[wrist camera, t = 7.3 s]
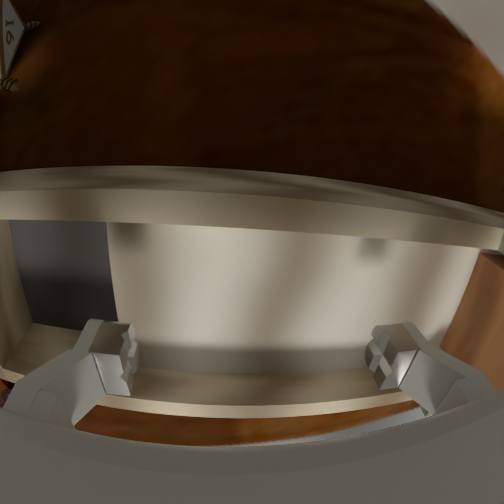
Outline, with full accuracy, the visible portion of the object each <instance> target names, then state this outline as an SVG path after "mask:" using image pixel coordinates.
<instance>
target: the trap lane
mask: <svg viewBox="0 0 504 504" xmlns="http://www.w3.org/2000/svg"><path fill="white" fill-rule="evenodd" d="M479 253H487V254H496V255H504V213H502V212H498V211H495V210H491V209H487V208H483V207H479V206H475V205H471V204H466V203H462V202H458V201H453V200H449V199H444V198H440V197H435V196H430V195H425V194H420V193H415V192H409V191H404V190H399V189H393V188H387V187H381V186H375V185H369V184H363V183H356V182H349V181H342V180H335V179H327V178H319V177H311V176H302V175H293V174H284V173H274V172H263V171H251V170H238V169H223V168H205V167H182V166H77V167H55V168H39V169H26V170H14V171H4V172H0V378H1V379H4V380H6V381H9V382H12V383H16V381H18V380H19V379H21V378H22V377H24V376H26V375H27V374H29V373H31V372H32V371H34V370H36V369H37V368H39V367H40V366H42V365H44V364H45V363H47V362H49V361H50V360H52V359H54V358H55V357H57V356H59V355H60V354H62V353H64V352H65V351H67V350H68V349H69V350H73V348H74V346H75V344H76V342H77V340H78V338H79V336H80V334H81V332H82V330H83V329H84V327H85V325H86V323H87V321H88V320H90V319H97V320H107V321H115V322H124V323H132V324H133V325H134V328H135V333H136V334H135V337H134V341H135V342H136V343H137V344H138V351H139V360H138V367H137V371H136V372H135V373H134V374H133V378H134V384H133V388H132V392H131V396H124V395H115V394H106V395H105V396H104V397H103V398H102V399H101V400H100V401H99V402H98V403H97V405H103V406H108V407H114V408H120V409H127V410H134V411H141V412H149V413H158V414H168V415H179V416H193V417H213V418H272V417H292V416H307V415H318V414H328V413H337V412H345V411H352V410H359V409H366V408H372V407H378V406H383V405H389V404H394V403H399V402H404V401H409V400H413V399H412V398H411V397H409V396H408V395H407V394H406V393H404V392H403V391H402V390H401V389H399V387H396V388H390V389H383V390H379V388H378V386H377V384H376V382H375V380H374V378H373V375H374V372H373V371H372V370H370V369H369V368H368V366H367V364H366V361H365V349H366V346H367V344H368V343H369V342H370V341H371V340H372V339H373V338H372V335H371V333H372V330H373V328H374V327H375V326H376V325H384V324H396V323H402V322H412V323H414V325H415V326H416V327H417V328H418V330H419V331H420V332H421V333H422V335H423V336H424V337H425V338H426V340H427V341H428V342H429V344H430V345H431V346H432V348H433V347H436V348H438V349H440V350H442V348H441V347H440V344H441V342H442V340H443V338H444V336H445V334H446V332H447V330H448V328H449V326H450V324H451V322H452V319H453V317H454V315H455V313H456V311H457V308H458V306H459V304H460V301H461V299H462V297H463V294H464V292H465V289H466V287H467V284H468V282H469V279H470V277H471V274H472V271H473V269H474V266H475V263H476V260H477V257H478V254H479ZM442 351H443V350H442ZM420 408H421V410H422V411H423V413H424V415H425V416H429V415H432V414H431V413H430V412H428V411H427V410H426V409H424V408H423V407H422V406H420Z"/></svg>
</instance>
